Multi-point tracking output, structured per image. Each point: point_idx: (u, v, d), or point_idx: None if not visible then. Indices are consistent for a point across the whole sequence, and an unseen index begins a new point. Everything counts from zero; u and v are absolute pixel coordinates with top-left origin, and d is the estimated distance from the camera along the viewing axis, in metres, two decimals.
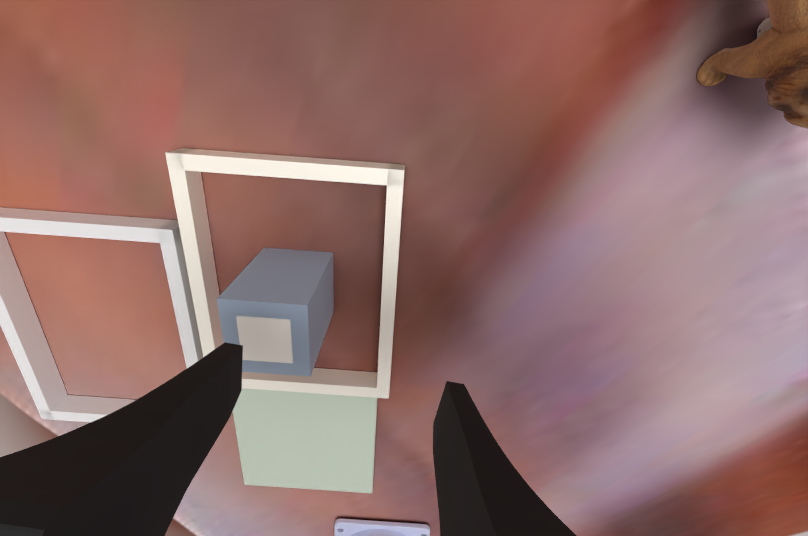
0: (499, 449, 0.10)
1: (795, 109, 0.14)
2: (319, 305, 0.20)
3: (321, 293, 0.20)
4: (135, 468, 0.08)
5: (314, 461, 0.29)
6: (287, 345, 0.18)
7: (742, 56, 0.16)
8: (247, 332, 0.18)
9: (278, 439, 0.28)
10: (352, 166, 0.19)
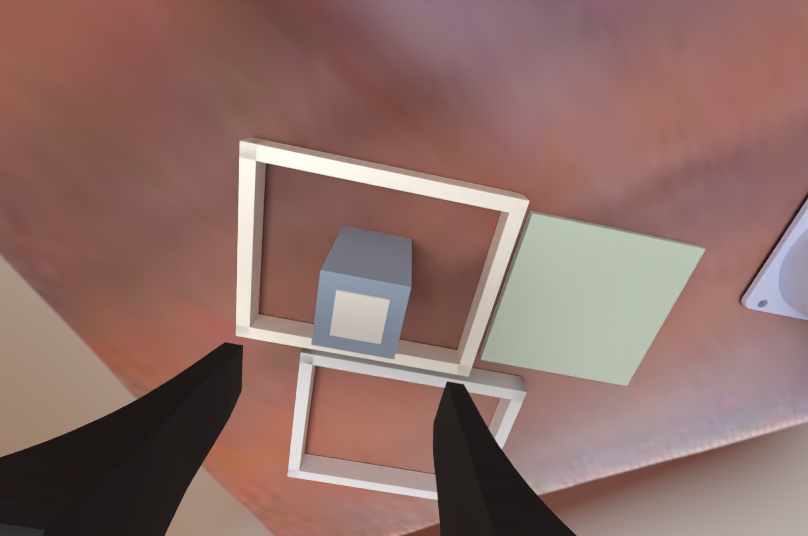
0: (499, 449, 0.10)
1: None
2: (357, 255, 0.19)
3: (350, 249, 0.19)
4: (135, 468, 0.08)
5: (617, 306, 0.23)
6: (368, 299, 0.17)
7: None
8: (349, 330, 0.18)
9: (568, 335, 0.24)
10: (239, 191, 0.20)
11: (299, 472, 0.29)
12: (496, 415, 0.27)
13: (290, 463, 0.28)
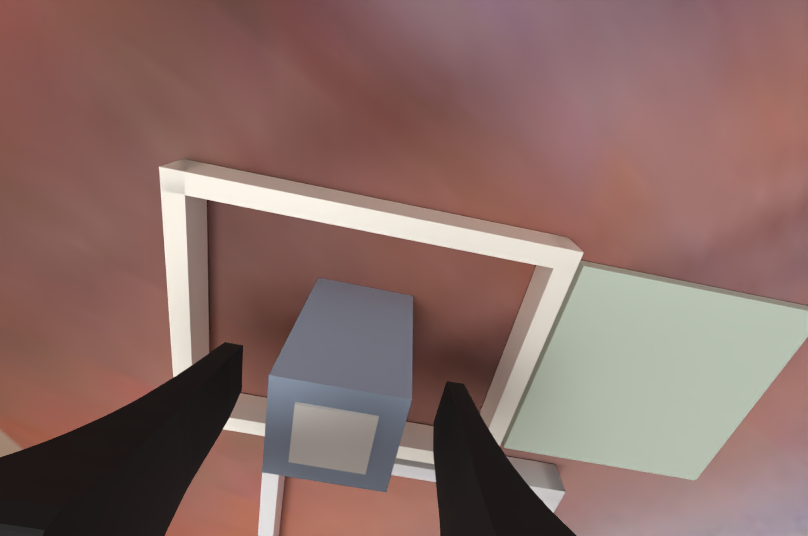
0: (499, 449, 0.10)
1: None
2: (332, 336, 0.13)
3: (323, 325, 0.13)
4: (135, 468, 0.08)
5: (693, 385, 0.17)
6: (344, 416, 0.11)
7: None
8: (318, 455, 0.12)
9: (622, 419, 0.18)
10: (165, 237, 0.14)
11: None
12: None
13: None
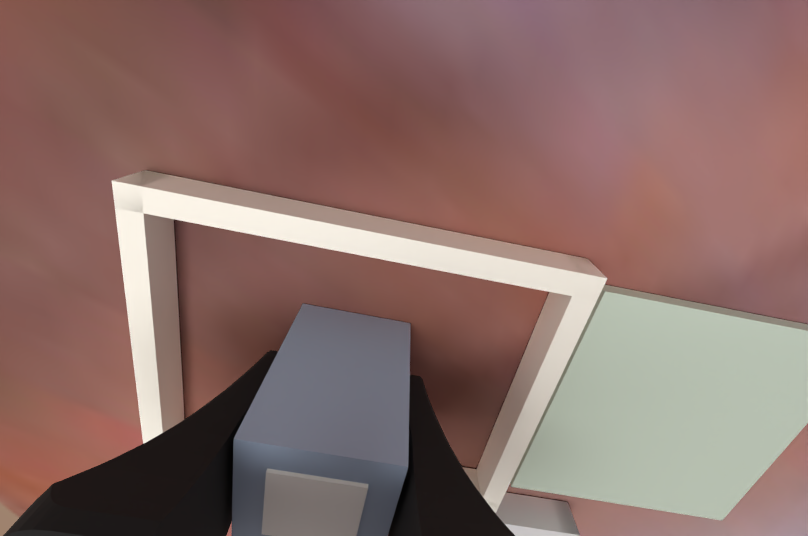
0: (444, 440, 0.10)
1: None
2: (315, 381, 0.11)
3: (305, 366, 0.11)
4: (209, 480, 0.08)
5: (724, 420, 0.15)
6: (328, 484, 0.09)
7: None
8: (297, 526, 0.10)
9: (644, 457, 0.16)
10: (123, 260, 0.12)
11: None
12: None
13: None
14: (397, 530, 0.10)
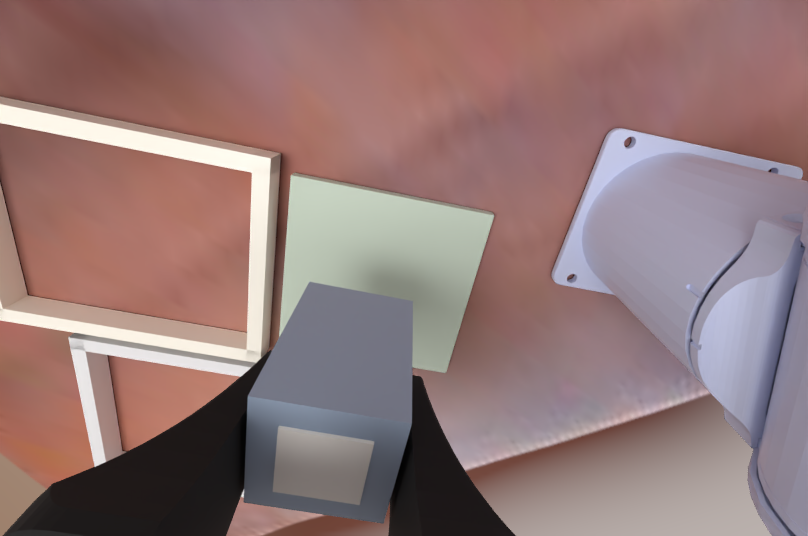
0: (444, 440, 0.10)
1: None
2: (322, 348, 0.11)
3: (313, 336, 0.12)
4: (209, 480, 0.08)
5: (413, 282, 0.21)
6: (336, 441, 0.10)
7: None
8: (306, 484, 0.11)
9: None
10: None
11: None
12: None
13: (95, 461, 0.26)
14: (397, 530, 0.10)
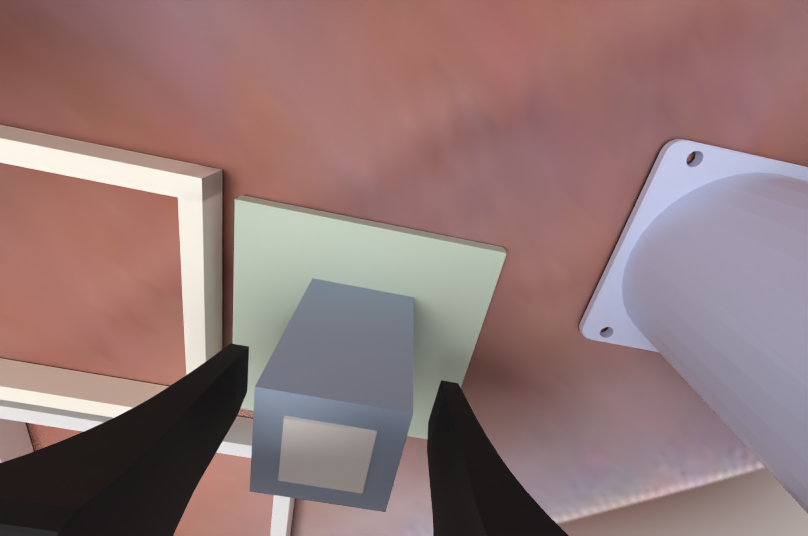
0: (492, 448, 0.10)
1: None
2: (326, 342, 0.12)
3: (316, 330, 0.12)
4: (145, 470, 0.08)
5: None
6: (339, 431, 0.10)
7: None
8: (310, 472, 0.11)
9: None
10: None
11: None
12: None
13: None
14: None
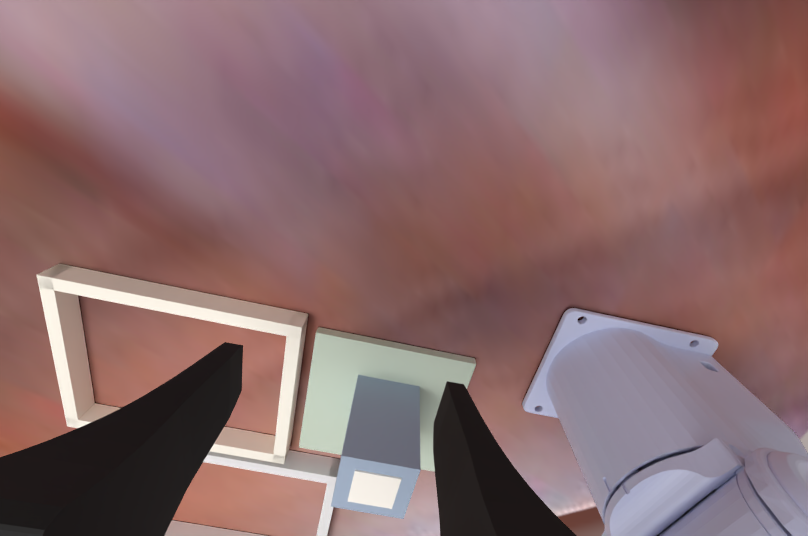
0: (499, 449, 0.10)
1: None
2: (372, 425, 0.21)
3: (366, 416, 0.22)
4: (135, 468, 0.08)
5: None
6: (382, 477, 0.20)
7: None
8: (364, 497, 0.21)
9: None
10: (45, 312, 0.22)
11: None
12: None
13: None
14: None
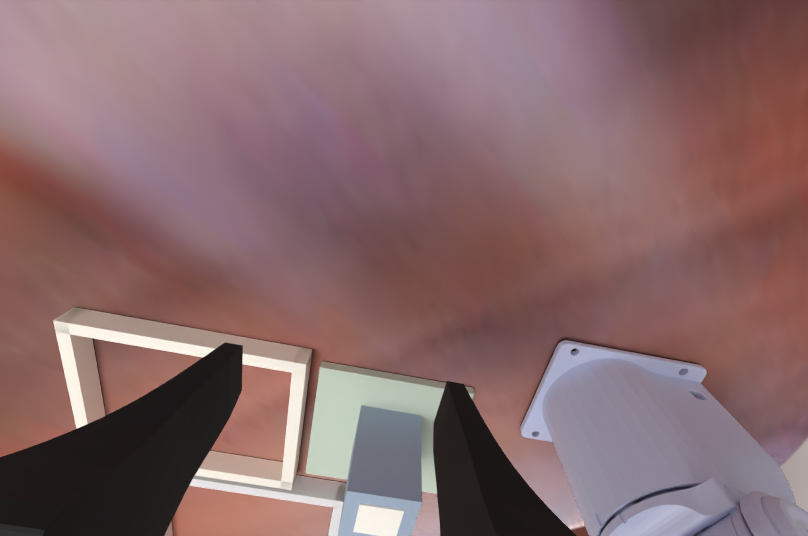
0: (499, 449, 0.10)
1: None
2: (375, 458, 0.22)
3: (369, 449, 0.23)
4: (135, 468, 0.08)
5: None
6: (386, 509, 0.21)
7: None
8: (369, 528, 0.22)
9: None
10: (61, 354, 0.23)
11: None
12: None
13: None
14: None
